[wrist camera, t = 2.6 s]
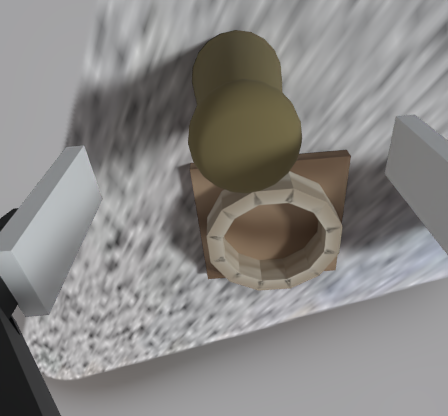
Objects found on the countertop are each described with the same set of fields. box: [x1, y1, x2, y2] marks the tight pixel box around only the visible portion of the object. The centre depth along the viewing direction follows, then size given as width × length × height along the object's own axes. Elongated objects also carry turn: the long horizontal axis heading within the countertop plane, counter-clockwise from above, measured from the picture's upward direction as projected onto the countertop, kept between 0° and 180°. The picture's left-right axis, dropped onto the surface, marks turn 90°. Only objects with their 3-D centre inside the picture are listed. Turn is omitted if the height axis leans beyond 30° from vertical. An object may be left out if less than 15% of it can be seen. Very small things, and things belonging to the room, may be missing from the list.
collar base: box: [190, 150, 351, 290], centre depth 29 cm, size 12×12×4 cm
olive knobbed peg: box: [188, 30, 302, 193], centre depth 19 cm, size 6×6×11 cm
